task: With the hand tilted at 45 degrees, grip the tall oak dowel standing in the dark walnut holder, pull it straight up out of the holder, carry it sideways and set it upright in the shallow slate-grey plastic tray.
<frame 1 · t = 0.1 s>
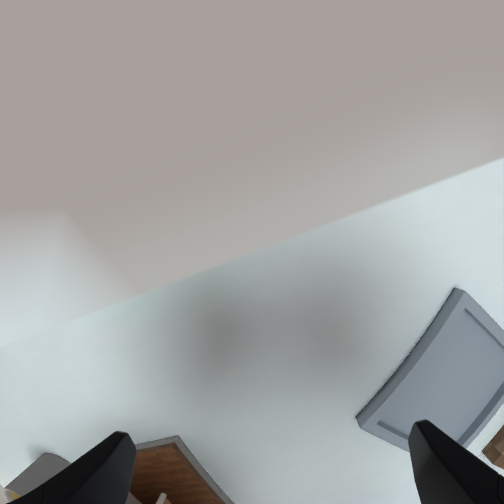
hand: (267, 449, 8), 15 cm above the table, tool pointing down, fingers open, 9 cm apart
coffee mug: (76, 487, 27), on the table
spiral staircase model: (168, 479, 25), on the table
plastic tray: (452, 387, 22), on the table
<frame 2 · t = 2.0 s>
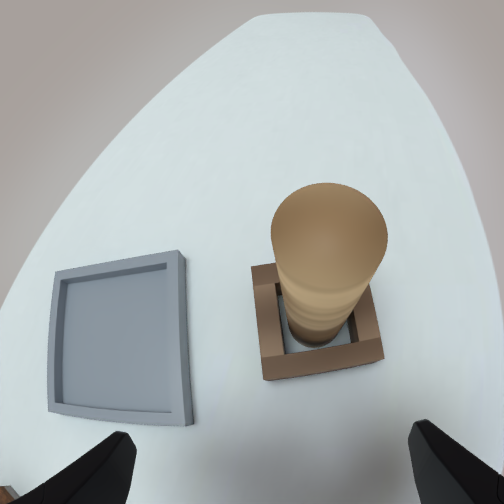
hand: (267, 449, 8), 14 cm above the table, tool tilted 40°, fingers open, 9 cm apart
plastic tray: (114, 342, 24), on the table
walnut holder: (314, 321, 22), on the table
oak dowel: (319, 294, 16), in the walnut holder
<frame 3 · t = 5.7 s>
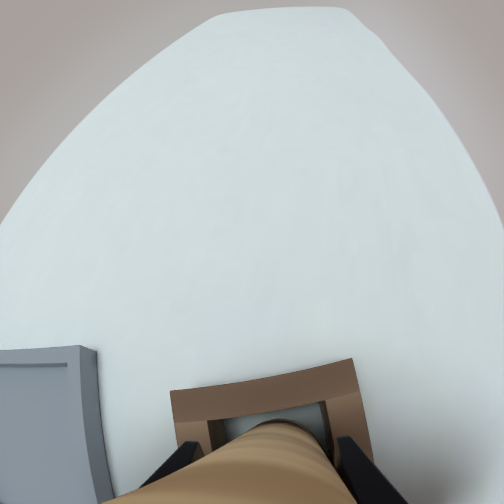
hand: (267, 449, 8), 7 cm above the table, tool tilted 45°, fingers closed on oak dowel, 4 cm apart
plastic tray: (31, 448, 13), on the table
walnut holder: (278, 455, 13), on the table
oak dowel: (267, 493, 7), in the walnut holder, touching gripper
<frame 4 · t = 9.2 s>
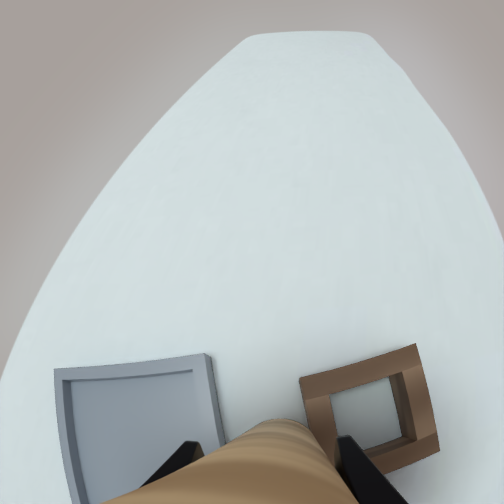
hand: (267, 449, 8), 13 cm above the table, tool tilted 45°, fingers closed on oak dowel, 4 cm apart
plastic tray: (139, 450, 19), on the table
walnut holder: (364, 417, 18), on the table
oak dowel: (268, 493, 7), point 13 cm above the table, touching gripper
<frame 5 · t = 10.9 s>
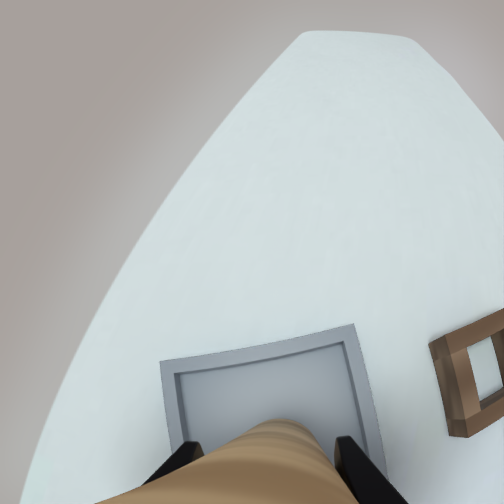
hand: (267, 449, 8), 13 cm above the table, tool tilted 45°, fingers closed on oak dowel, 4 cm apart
plastic tray: (274, 441, 18), on the table
walnut holder: (478, 372, 18), on the table
oak dowel: (268, 492, 7), point 13 cm above the table, touching gripper
when the fingers open (8 cm above the table, at t = 12.6 s): oak dowel stays where it is, resting on plastic tray.
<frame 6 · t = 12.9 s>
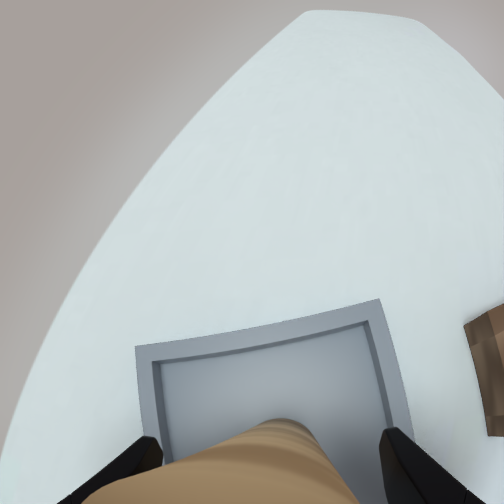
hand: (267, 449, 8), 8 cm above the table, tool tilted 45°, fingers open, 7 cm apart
plastic tray: (279, 450, 14), on the table
oak dowel: (269, 483, 7), in the plastic tray, point 8 cm above the table
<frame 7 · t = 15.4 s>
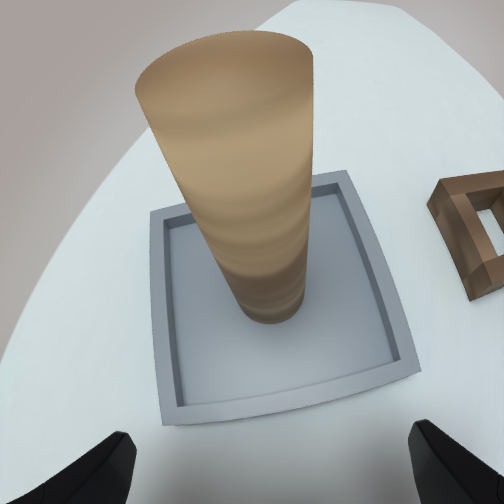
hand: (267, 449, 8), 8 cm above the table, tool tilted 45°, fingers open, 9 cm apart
plastic tray: (270, 294, 19), on the table
walnut holder: (485, 239, 18), on the table
oak dowel: (257, 227, 12), in the plastic tray, point 8 cm above the table
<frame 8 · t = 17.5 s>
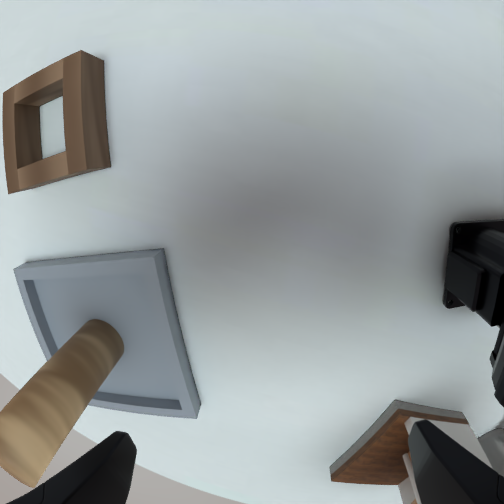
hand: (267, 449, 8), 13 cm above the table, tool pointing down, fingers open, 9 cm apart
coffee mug: (485, 443, 25), on the table
spiral staircase model: (397, 441, 25), on the table
plastic tray: (105, 336, 22), on the table
walnut holder: (62, 126, 18), on the table
oak dowel: (58, 393, 15), in the plastic tray, point 8 cm above the table
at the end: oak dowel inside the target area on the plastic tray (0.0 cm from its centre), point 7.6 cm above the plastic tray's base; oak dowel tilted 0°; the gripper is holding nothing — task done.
